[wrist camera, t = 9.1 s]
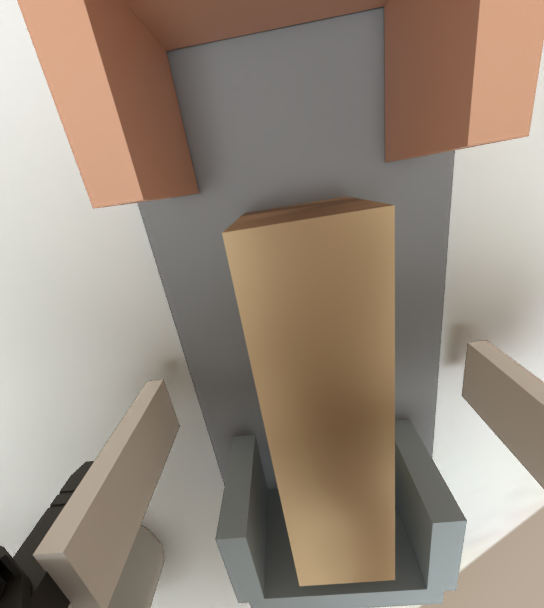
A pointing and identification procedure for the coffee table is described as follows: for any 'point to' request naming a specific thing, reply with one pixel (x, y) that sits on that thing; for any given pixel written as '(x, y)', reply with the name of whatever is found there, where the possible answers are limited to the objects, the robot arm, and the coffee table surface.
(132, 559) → the cup
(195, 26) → the endcap
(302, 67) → the seat
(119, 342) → the coffee table surface
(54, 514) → the robot arm
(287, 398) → the tan wooden block
